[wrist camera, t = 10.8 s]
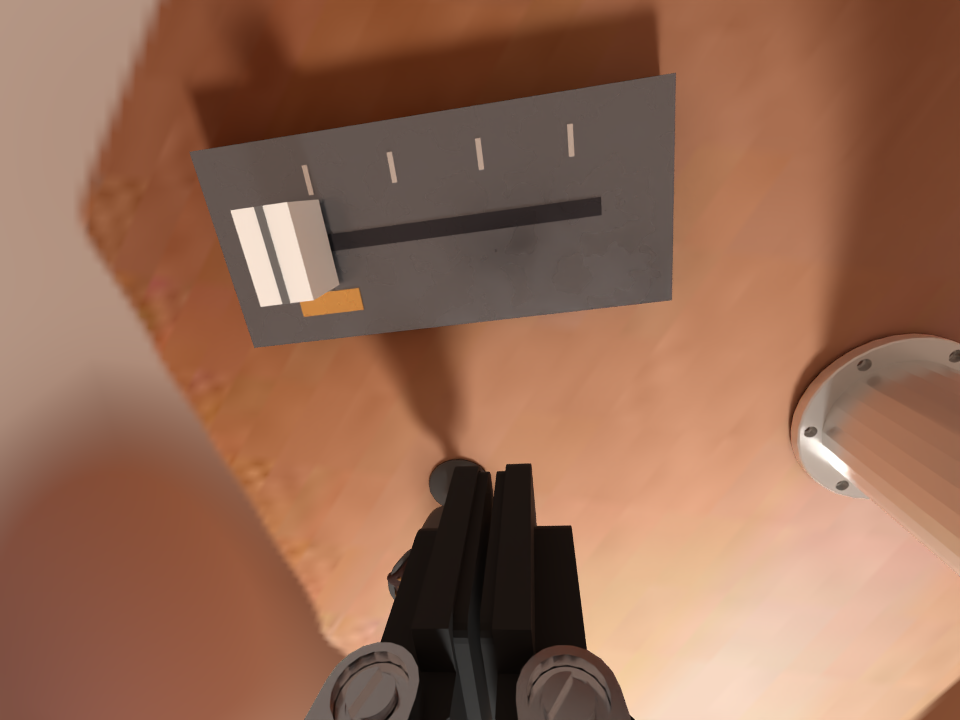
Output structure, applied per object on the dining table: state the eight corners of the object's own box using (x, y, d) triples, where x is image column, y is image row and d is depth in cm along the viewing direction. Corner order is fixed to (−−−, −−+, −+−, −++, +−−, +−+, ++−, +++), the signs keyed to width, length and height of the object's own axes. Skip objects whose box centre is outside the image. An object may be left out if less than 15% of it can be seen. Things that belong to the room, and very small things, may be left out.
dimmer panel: (660, 82, 26) (676, 72, 23) (659, 290, 30) (672, 300, 27) (215, 154, 28) (188, 151, 26) (272, 335, 32) (253, 348, 30)
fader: (318, 199, 26) (285, 202, 22) (339, 284, 28) (312, 300, 24) (269, 206, 26) (229, 210, 23) (293, 290, 28) (259, 307, 24)
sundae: (431, 438, 35) (381, 608, 21) (513, 465, 35) (516, 649, 21) (408, 503, 37) (348, 694, 23) (484, 527, 38) (471, 729, 24)
